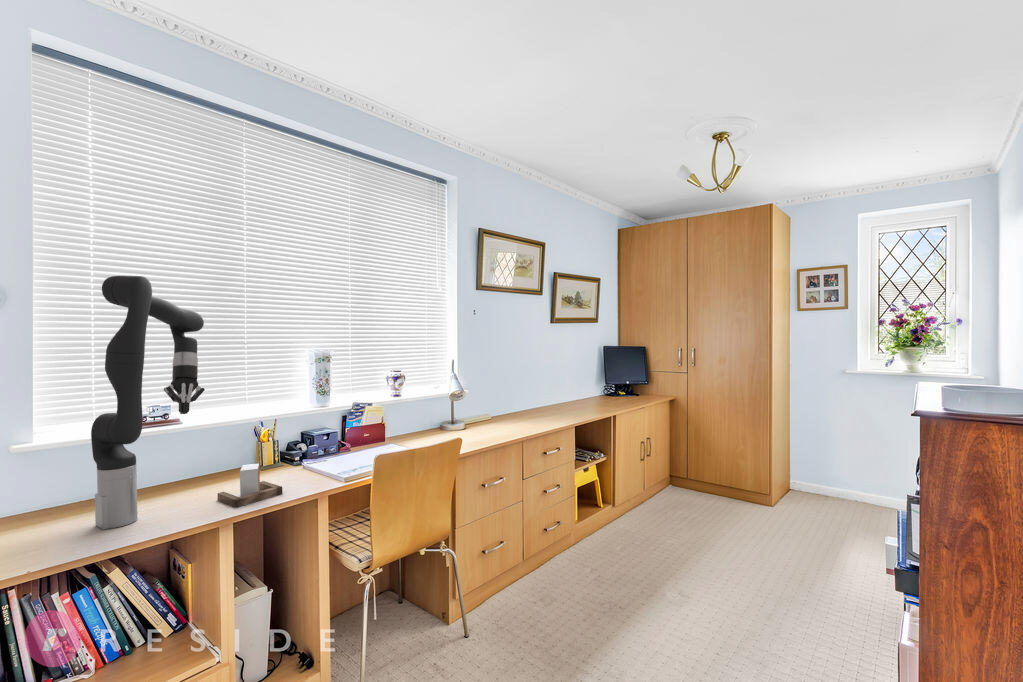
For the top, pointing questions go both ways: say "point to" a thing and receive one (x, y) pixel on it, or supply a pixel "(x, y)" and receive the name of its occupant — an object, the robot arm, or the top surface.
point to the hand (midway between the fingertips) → (184, 413)
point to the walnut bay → (251, 495)
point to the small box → (249, 479)
